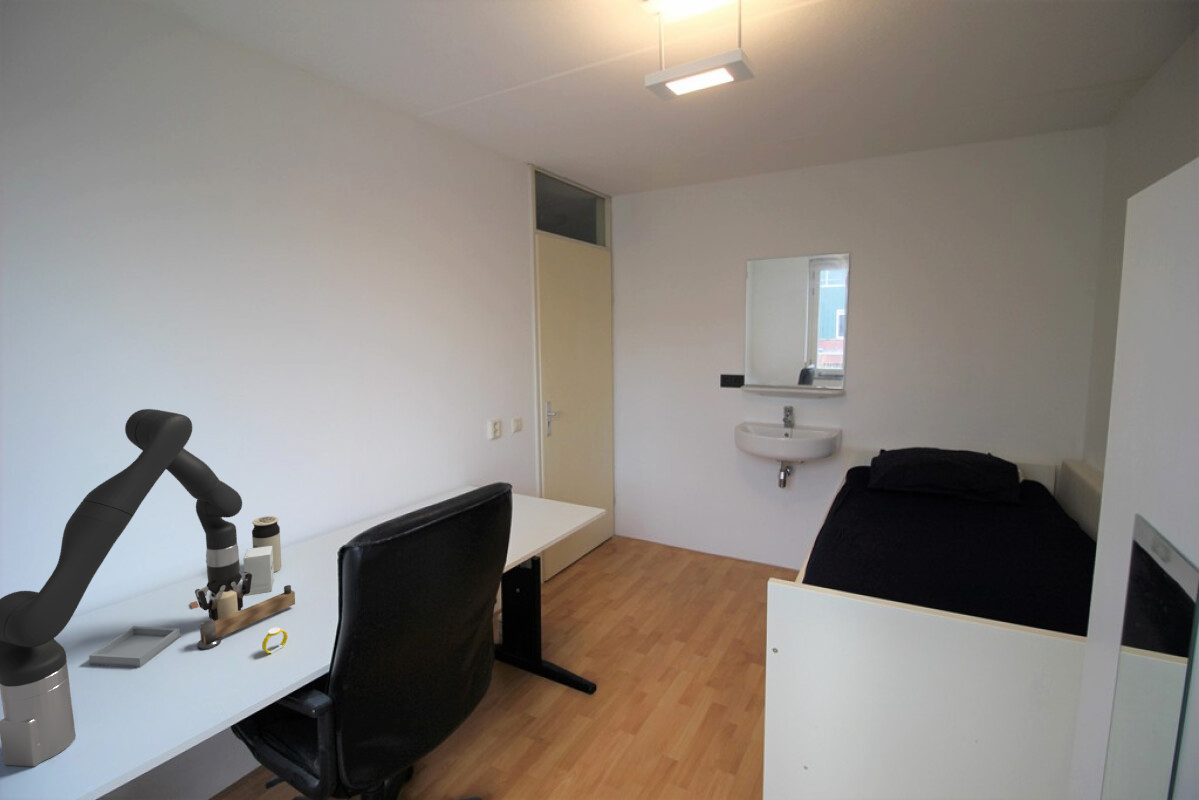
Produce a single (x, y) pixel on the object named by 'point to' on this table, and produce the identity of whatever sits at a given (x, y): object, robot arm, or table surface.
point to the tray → (135, 646)
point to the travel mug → (268, 537)
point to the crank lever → (246, 616)
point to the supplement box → (260, 569)
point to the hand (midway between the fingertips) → (226, 614)
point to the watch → (271, 633)
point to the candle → (227, 604)
